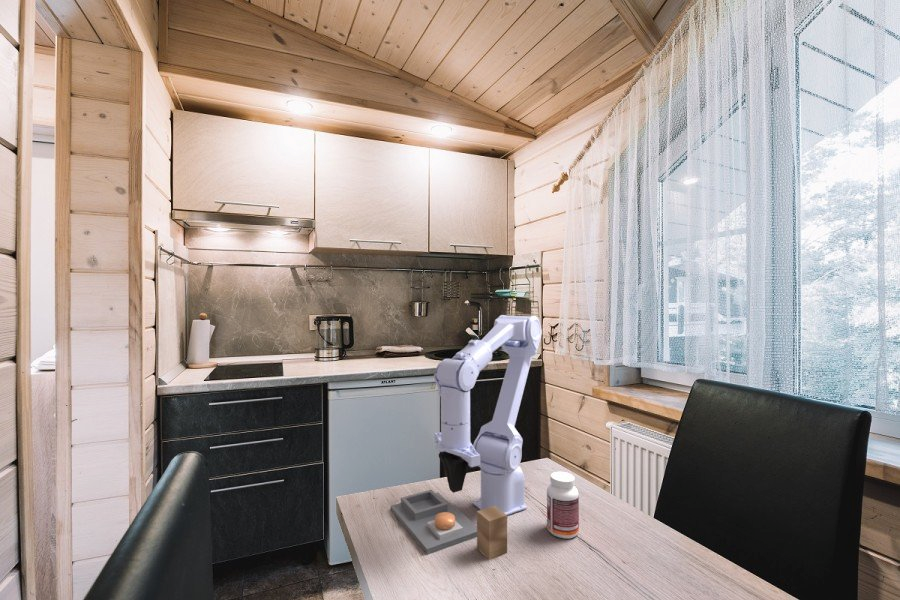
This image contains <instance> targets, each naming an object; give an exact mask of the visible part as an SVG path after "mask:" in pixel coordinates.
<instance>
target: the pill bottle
mask: <svg viewBox="0 0 900 600" xmlns="http://www.w3.org/2000/svg"><path fill="white" fill-rule="evenodd" d="M575 479H576V477H575V476H574V475H573V474H572V473H569V472H565V471H554V472H552V473H551V474H550V484H549V485H548V486H547V488H546V518H547V519H546V527H547V531H548V532H549V533H550V534H551V535H552V536H555V537H557V538H559V539H565V540H568V539H573V538H575V537H577V536H578V534H579V533H580V523H579V521H580V519H579V517H580V514H579V511H580V509H579V508H580V507H579V506H580V505H579V504H580V503H579V502H580V501H579V498H580V497H579V495H580V494H579V491H578V488H577V487H576V486H575V484H576V482H575Z"/></svg>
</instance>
